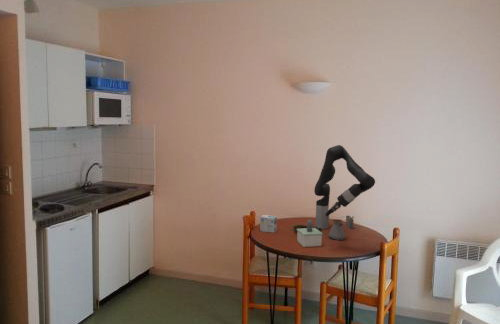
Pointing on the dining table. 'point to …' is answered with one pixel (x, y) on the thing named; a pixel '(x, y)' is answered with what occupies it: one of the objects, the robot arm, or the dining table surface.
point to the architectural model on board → (349, 222)
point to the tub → (309, 240)
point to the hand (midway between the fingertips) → (327, 213)
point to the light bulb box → (268, 223)
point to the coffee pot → (337, 230)
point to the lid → (309, 230)
